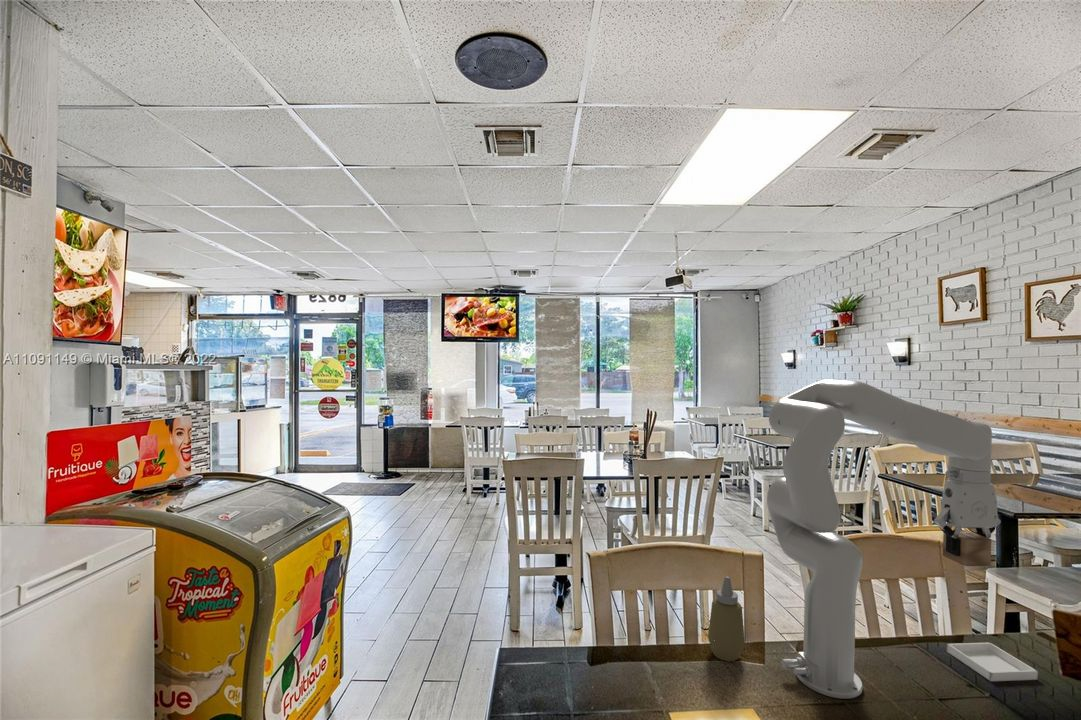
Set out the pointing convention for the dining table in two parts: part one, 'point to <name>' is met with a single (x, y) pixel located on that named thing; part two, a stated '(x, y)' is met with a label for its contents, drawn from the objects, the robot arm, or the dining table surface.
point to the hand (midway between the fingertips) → (966, 552)
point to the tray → (992, 662)
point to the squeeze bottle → (726, 624)
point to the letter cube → (971, 549)
